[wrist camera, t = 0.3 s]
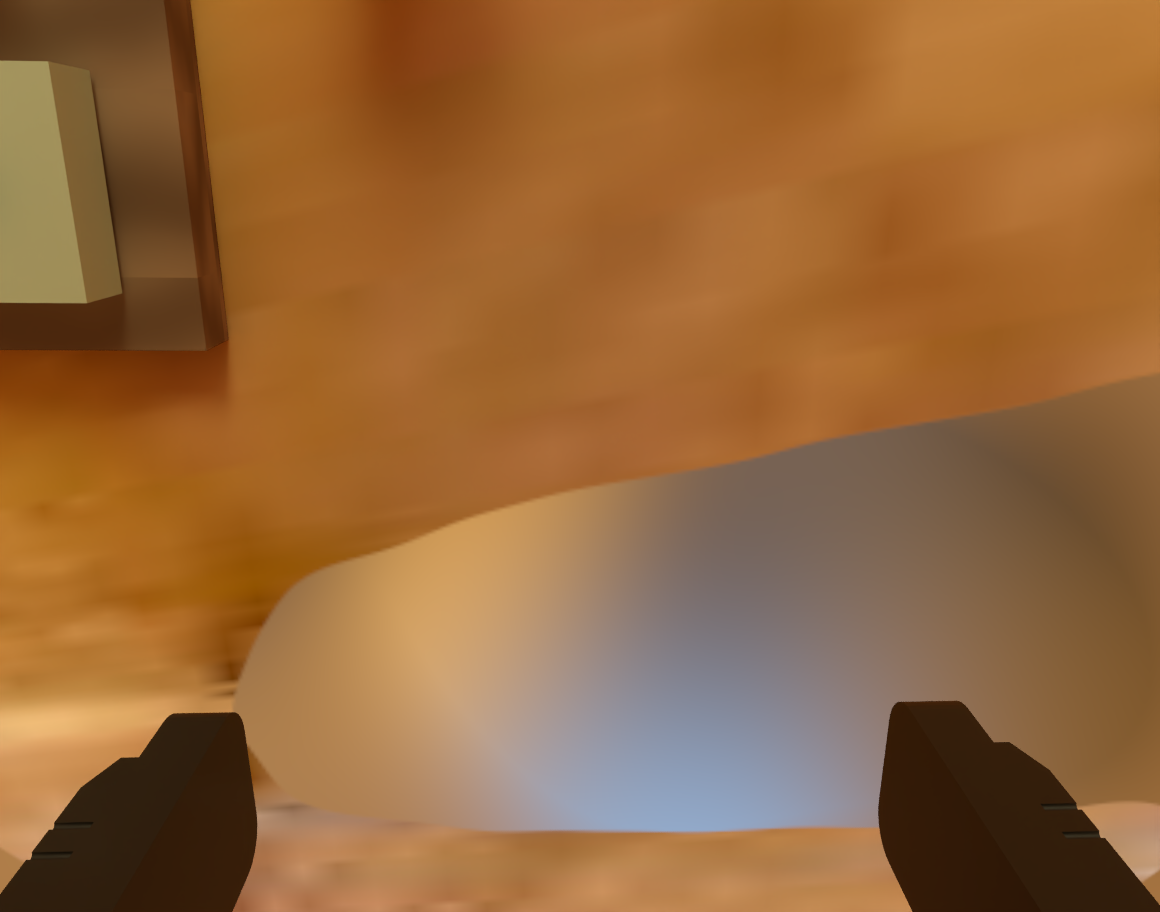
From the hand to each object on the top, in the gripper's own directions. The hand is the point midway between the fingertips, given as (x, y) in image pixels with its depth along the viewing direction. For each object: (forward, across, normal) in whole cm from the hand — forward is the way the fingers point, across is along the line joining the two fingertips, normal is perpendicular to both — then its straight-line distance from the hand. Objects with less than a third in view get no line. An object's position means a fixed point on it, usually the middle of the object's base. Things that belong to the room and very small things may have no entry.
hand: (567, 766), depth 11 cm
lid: (+24, +20, -6) cm, 32 cm away
